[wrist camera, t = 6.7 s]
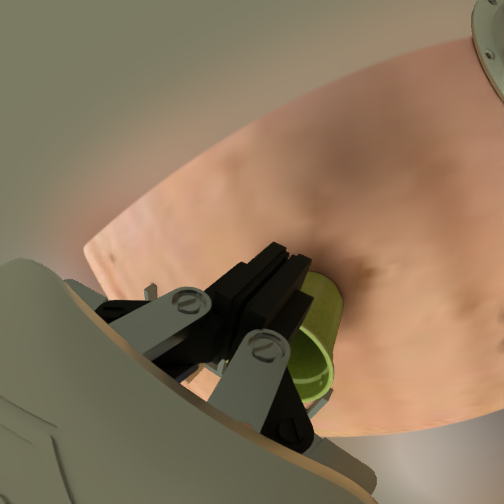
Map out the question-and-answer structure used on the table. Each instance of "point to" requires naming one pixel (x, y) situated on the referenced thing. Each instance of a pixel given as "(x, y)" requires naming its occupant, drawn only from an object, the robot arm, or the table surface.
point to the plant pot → (316, 339)
